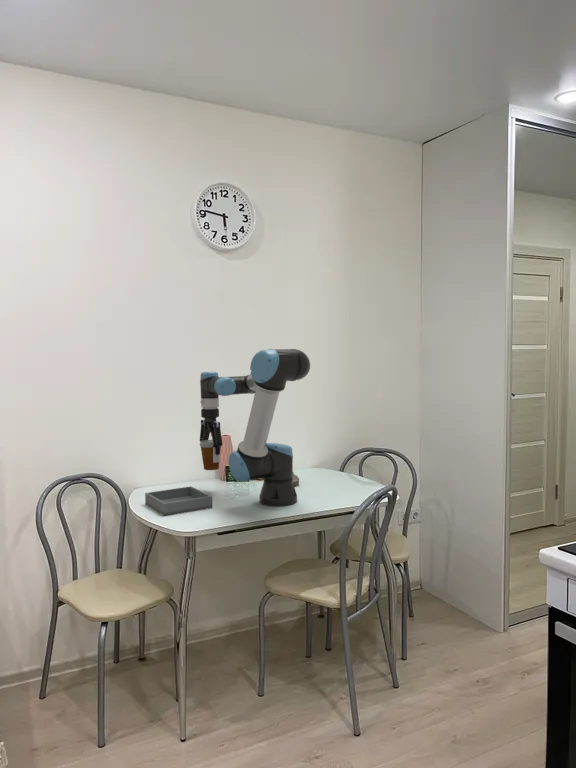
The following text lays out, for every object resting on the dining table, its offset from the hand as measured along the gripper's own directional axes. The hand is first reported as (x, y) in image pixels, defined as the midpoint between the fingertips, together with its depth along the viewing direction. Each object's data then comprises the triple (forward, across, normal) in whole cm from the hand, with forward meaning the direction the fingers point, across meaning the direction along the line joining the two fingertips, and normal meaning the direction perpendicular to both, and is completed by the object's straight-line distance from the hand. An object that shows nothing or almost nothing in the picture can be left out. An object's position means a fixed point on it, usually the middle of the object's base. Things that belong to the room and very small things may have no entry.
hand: (211, 460), depth 262 cm
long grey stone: (+14, -4, +35) cm, 38 cm away
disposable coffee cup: (+4, 0, 0) cm, 4 cm away
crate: (+14, +13, -21) cm, 28 cm away
